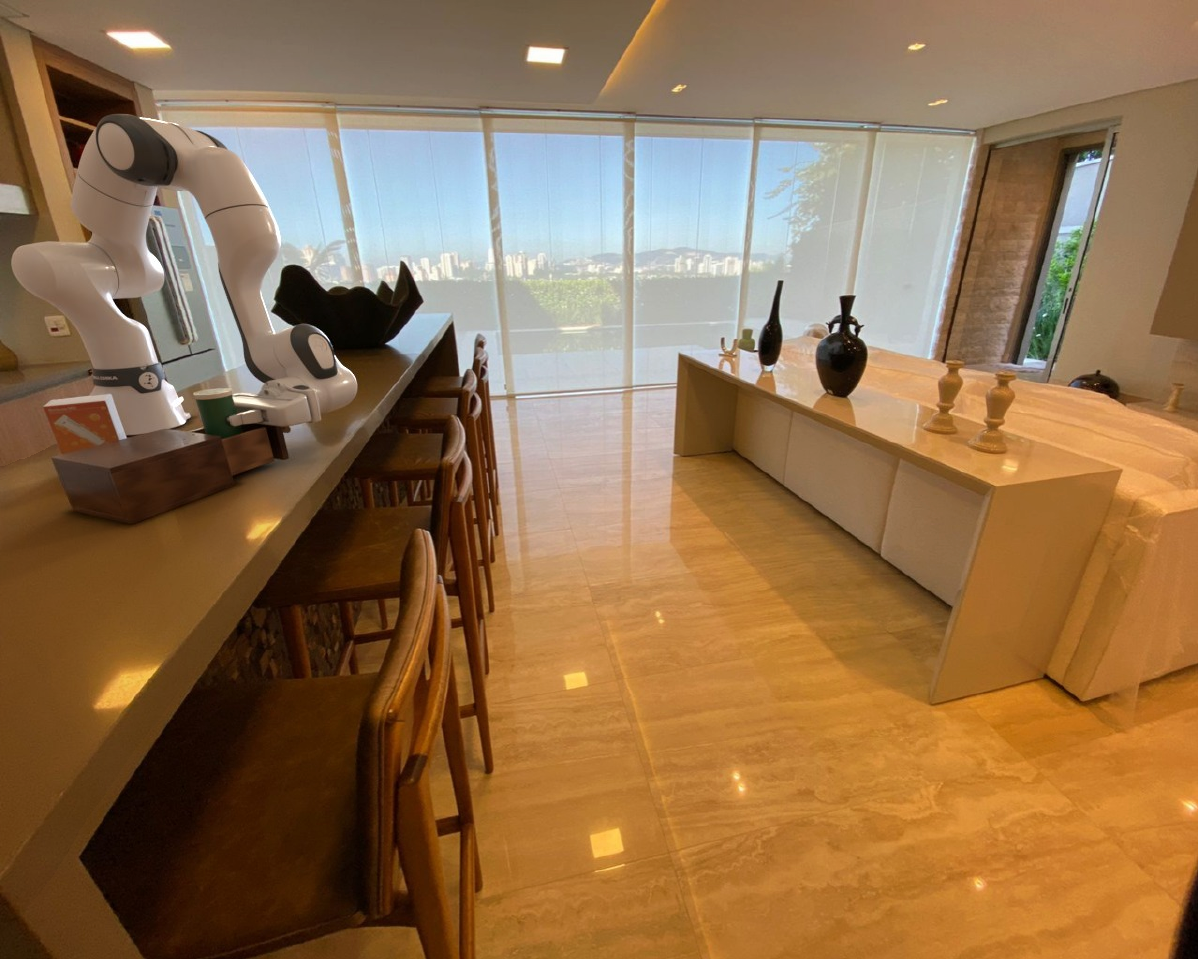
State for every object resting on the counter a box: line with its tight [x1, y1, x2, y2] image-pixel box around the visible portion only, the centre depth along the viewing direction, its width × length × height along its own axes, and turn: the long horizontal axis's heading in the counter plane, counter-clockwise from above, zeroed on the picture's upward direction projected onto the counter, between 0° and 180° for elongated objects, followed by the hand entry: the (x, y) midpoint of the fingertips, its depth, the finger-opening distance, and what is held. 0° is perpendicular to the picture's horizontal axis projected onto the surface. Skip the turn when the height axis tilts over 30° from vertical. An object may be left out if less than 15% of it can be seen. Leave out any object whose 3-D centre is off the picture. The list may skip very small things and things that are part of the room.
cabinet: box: [50, 428, 236, 525], centre depth 82 cm, size 16×14×9 cm
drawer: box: [186, 423, 292, 477], centre depth 95 cm, size 19×12×7 cm, turn 159°
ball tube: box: [192, 387, 242, 439], centre depth 92 cm, size 5×5×11 cm
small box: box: [42, 394, 127, 455], centre depth 94 cm, size 8×6×13 cm
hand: (215, 419), depth 91 cm, fingers closed on ball tube, 5 cm apart
